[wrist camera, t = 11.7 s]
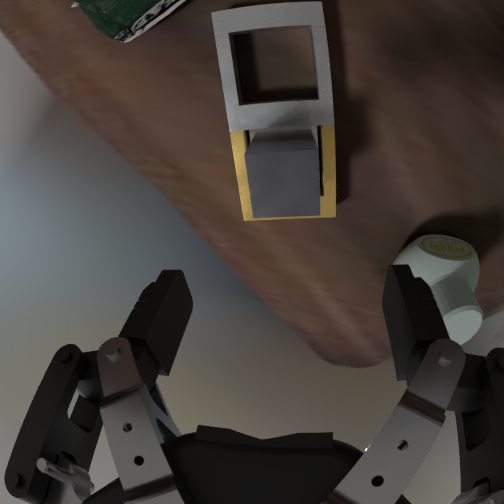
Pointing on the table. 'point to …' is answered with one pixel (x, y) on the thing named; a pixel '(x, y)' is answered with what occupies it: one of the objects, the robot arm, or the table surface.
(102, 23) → the miniature car
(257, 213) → the grey block
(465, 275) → the air freshener
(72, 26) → the table surface
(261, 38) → the table surface
